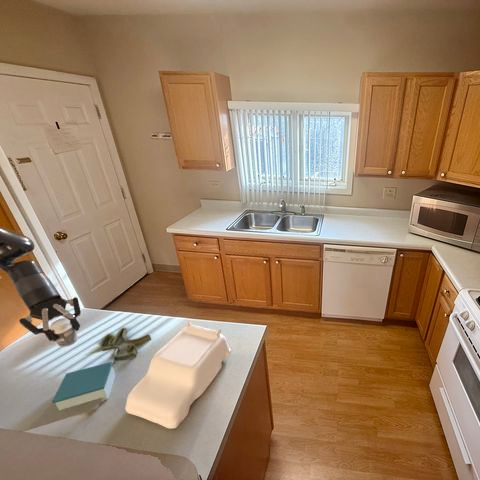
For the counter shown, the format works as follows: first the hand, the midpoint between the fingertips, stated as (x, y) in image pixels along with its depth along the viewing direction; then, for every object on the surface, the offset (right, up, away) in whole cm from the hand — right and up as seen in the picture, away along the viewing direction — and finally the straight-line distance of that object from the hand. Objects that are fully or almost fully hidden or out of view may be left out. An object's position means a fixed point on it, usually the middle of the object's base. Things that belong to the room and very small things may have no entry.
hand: (66, 334), depth 80 cm
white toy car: (+34, -18, +7) cm, 39 cm away
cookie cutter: (+4, -12, +19) cm, 23 cm away
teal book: (+6, -19, +1) cm, 20 cm away
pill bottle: (-2, -4, +3) cm, 5 cm away
